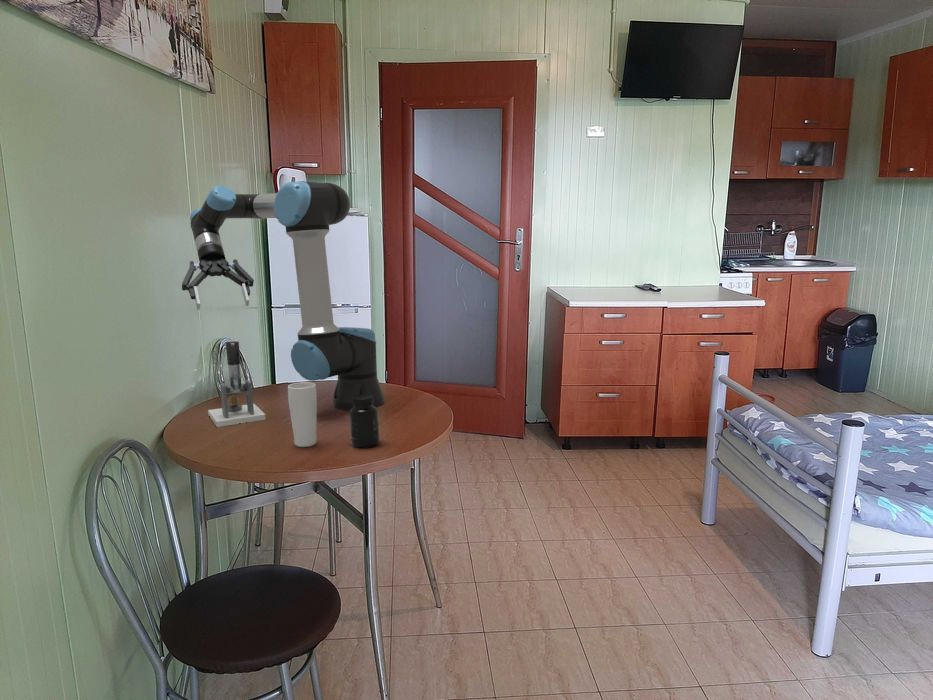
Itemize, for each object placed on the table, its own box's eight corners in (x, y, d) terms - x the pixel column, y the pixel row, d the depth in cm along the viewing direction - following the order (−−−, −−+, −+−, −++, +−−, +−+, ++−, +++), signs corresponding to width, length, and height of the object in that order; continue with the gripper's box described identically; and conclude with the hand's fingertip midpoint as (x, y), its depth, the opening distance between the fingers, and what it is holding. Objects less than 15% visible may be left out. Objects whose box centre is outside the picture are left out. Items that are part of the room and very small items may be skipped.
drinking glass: (324, 445, 167) (320, 385, 164) (297, 450, 163) (293, 389, 160) (313, 438, 172) (309, 380, 170) (287, 443, 169) (283, 384, 166)
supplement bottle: (370, 438, 172) (368, 391, 169) (384, 444, 166) (382, 396, 164) (346, 443, 167) (343, 396, 165) (360, 450, 162) (357, 401, 160)
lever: (221, 388, 195) (217, 339, 192) (240, 385, 197) (236, 337, 194) (227, 395, 186) (223, 344, 184) (247, 392, 189) (243, 342, 186)
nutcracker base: (208, 415, 196) (205, 379, 194) (254, 408, 202) (251, 373, 200) (217, 427, 184) (213, 389, 182) (265, 419, 190) (262, 383, 188)
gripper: (250, 257, 217) (265, 309, 207) (166, 261, 205) (177, 316, 195) (253, 241, 211) (268, 293, 201) (166, 243, 200) (177, 299, 189)
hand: (223, 304), depth 198 cm, fingers open, 13 cm apart
